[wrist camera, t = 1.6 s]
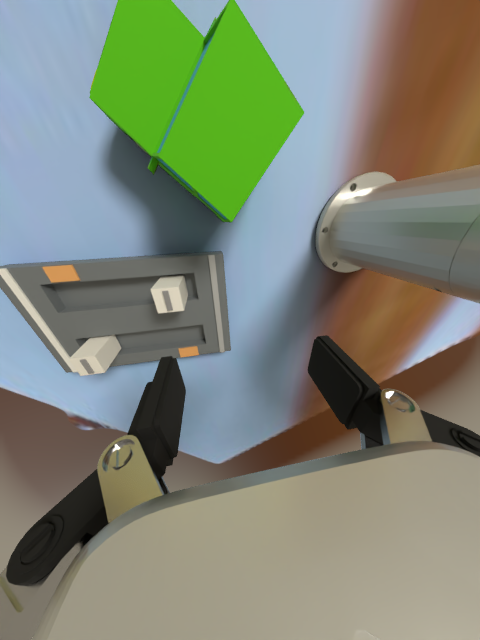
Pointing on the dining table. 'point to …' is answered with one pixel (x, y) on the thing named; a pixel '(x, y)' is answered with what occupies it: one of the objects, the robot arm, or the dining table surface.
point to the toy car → (196, 98)
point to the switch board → (122, 305)
